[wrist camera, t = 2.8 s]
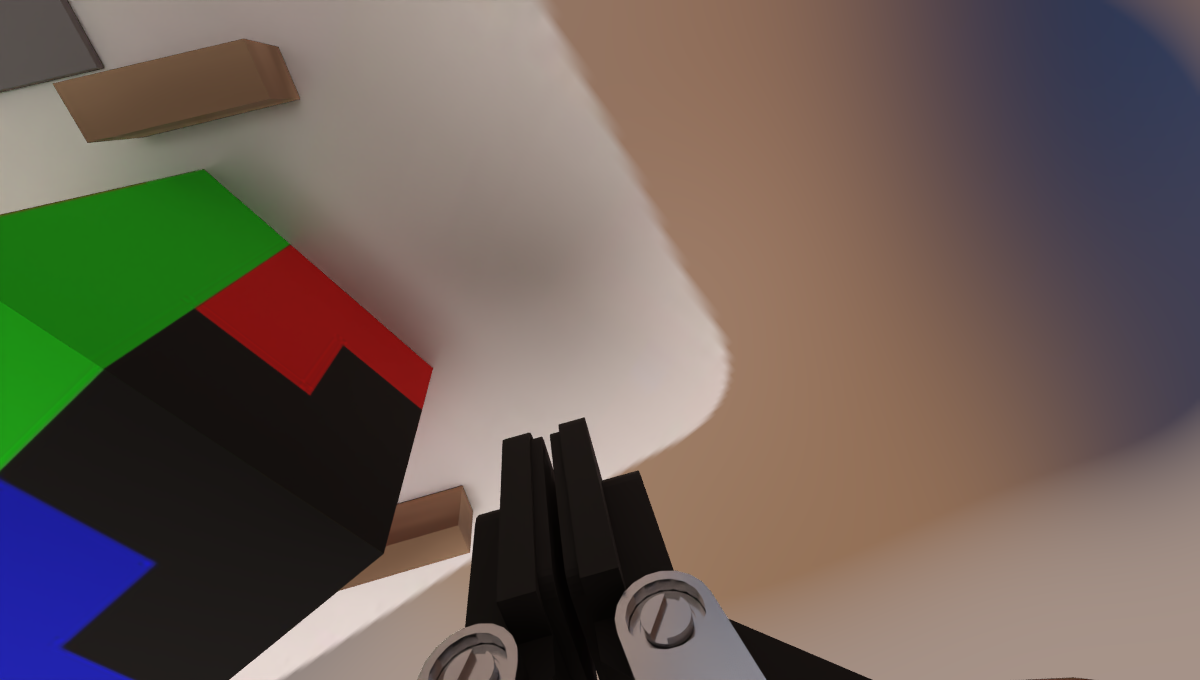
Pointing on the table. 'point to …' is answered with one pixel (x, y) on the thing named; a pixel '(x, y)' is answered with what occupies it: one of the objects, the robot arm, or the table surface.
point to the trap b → (41, 43)
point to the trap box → (215, 91)
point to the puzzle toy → (183, 435)
